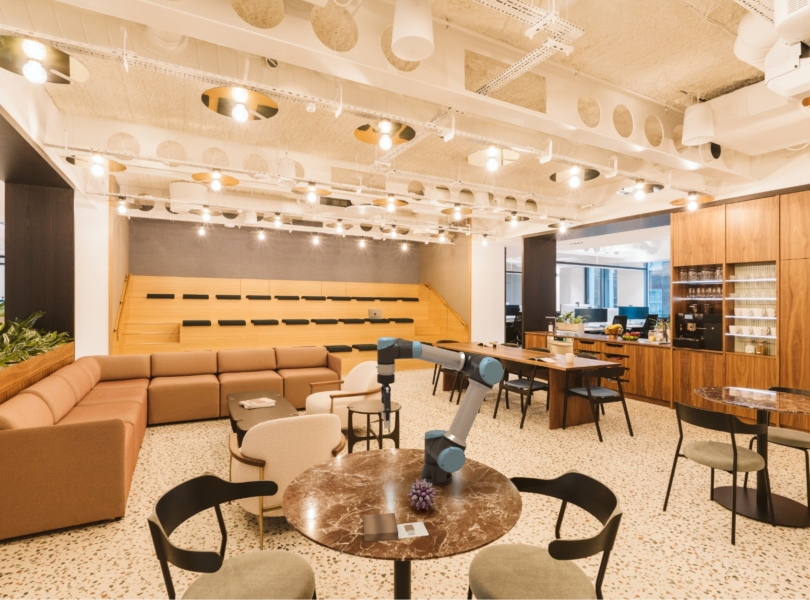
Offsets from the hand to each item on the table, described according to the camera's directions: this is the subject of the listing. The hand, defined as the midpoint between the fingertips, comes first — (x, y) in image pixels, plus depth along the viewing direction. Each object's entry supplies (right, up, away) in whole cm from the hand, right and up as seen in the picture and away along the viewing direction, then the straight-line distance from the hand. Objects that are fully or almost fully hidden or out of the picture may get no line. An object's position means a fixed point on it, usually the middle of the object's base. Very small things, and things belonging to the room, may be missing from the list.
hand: (385, 423), depth 176 cm
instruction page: (+10, -33, -24) cm, 42 cm away
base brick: (-1, -33, -24) cm, 41 cm away
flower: (+15, -33, -8) cm, 37 cm away
